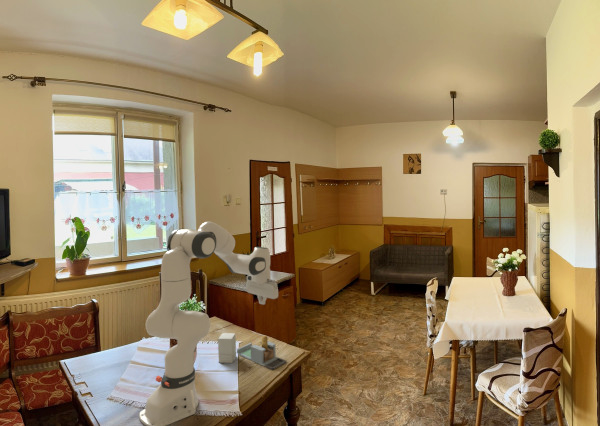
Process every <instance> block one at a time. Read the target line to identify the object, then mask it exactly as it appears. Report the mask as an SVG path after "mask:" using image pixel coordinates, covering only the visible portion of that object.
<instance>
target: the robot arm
mask: <svg viewBox="0 0 600 426" xmlns="http://www.w3.org/2000/svg"><path fill="white" fill-rule="evenodd" d="M235 246H236V240H235V237H234V236H233V235H232V234H231V233H230V232H229V231H228V230H227V229H226V228H225V227H223V226H221V225H220V224H218V223H215V222H213V221H204V222H203V223H201V225H199V227H198V229H192V228H191V229H189V228H179V229H175V230H173V231H171V232H170V234H169V236H168V238H167V245H166V249H167V251H166V252H165V253H164V254H163V256H162V259H161V266H160V284H161V288H160V289H161V292H160V293H161V295H160V301H159V304H158V306H157V307H156V308H155V310H153V311H152V312H151V313H149V315H148V317H147V318H146V321H145V330H146V332H147V334H148V335H149V336H151V337H155V338H159V339H167V340H168V339H173V340H176V342H177V344H175V345H173V346H172V347H170V348H169V349H168V350H166V352H165V355H164V373H163V376H161V375H157V376H156V377H155V381H156V382H158V383H160V384H159V385H158V386H157V388H156V389H155V390H154V391H153V392H152V393H151V395H149V396H148V397H147V399H146V401H145V408H144V409H143V410H142V409H141V411H139V415H138V416H139V417H138V418H139V420H140V422H141V423H142V424H143V425H144V426H169V425H170V424H174V423H176V422H178V421H181V420H184V419H185V418H187V417H190V416H192V415H195V414H196V413H197V411H196V410H197V407H198V405H199V402H200V400H199V398H198V395H197V390H196V384H195V383H196V382H195V380H196V369H195V365H194V362H195V351H196V348H197V345H198V344H199V342H200V341H201V340H202V339H204V338H206V337H207V335H208V333H209V332H210V330H211V319H210V317H209V315H208V314H207V313H205V312H202V311H197V310H183V309H180V308H179V307H180V306H179V305H180V304H183V303H185V302H186V301H188V300H189V298H191V294H192V279H191V278H192V277H191V268H190V267H191V265H190V263H191V261H192V258H197V259H206V258H210V257H211V256H212V255H213V254H214V255H215V256H217V258H218V259H220V260H221V261H222V262H224V264H226V267H227V269H228V270H229V271H230V272H231V273H232V274H241V275H245V276H246V275H247V276H246V283H245V284H246V285H245V288H246V289H245V290H246V292H247V293H248V294H253V295H254V296H255V295H256V296H257V300H258V304H260V305H263V306H264V305H266V301H267V299H271V300H275V299H278V298H279V289H278V283H277V281H276V280H274V279H271V268H270V267H271V254H270V253H271V252H270V250H269V248H268V247H262V246H255V247H254V248H253V252H252V253H250V254H241V253H237V252H233V251H234V250H235Z"/></svg>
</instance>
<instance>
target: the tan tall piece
mask: <svg viewBox="0 0 600 426" xmlns="http://www.w3.org/2000/svg"><path fill="white" fill-rule="evenodd" d="M261 341H262V343H261V347H262V348H265V349H266V350H265V351H263V360H264V362H266V361H268V360H270V359H272V358H274V350H272V349H270V348H268V344H267V341H268V335H262V336H261Z"/></svg>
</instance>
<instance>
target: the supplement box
mask: <svg viewBox="0 0 600 426" xmlns="http://www.w3.org/2000/svg"><path fill="white" fill-rule="evenodd" d="M236 339H237V338H236V333H234V332H231V333H230V332H221V334H220V335H219V337H218V338H217V346H218V347H217V348H218V349H217V351H218V352H217V353H218V363H224V364H225V363H226V364H233V363H234V362H235V360H236V357H237V348H236V347H237V344H236Z"/></svg>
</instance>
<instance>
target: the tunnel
mask: <svg viewBox="0 0 600 426" xmlns="http://www.w3.org/2000/svg"><path fill="white" fill-rule="evenodd" d="M260 344H262V340H261V341H260ZM267 344H268V348H270V349H272V350H274V358H272V359H270V360H268V361H266V362H264V360H263V351H265V350H266V349H265V348H262V346H260V345H257V344H253V343H252V342H250V343H247V344H245V345H243V346H241V347H239V348H236V354H237V355H238V356H241V357H242V358H244V359H247V360H249V361H252V362H254V363H256V364H258V365H261V366H263V367H265V368H267V369H268V370H271V371H274V370H276V369H277V368H279V367H280V366H283V365H284V364H286V363H287V360H285V359H283V358H281V357H279V356H276V355H277V354H276V352H277V350H276V347H277V346H276V343H274V342H271V341H268V340H267Z"/></svg>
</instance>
